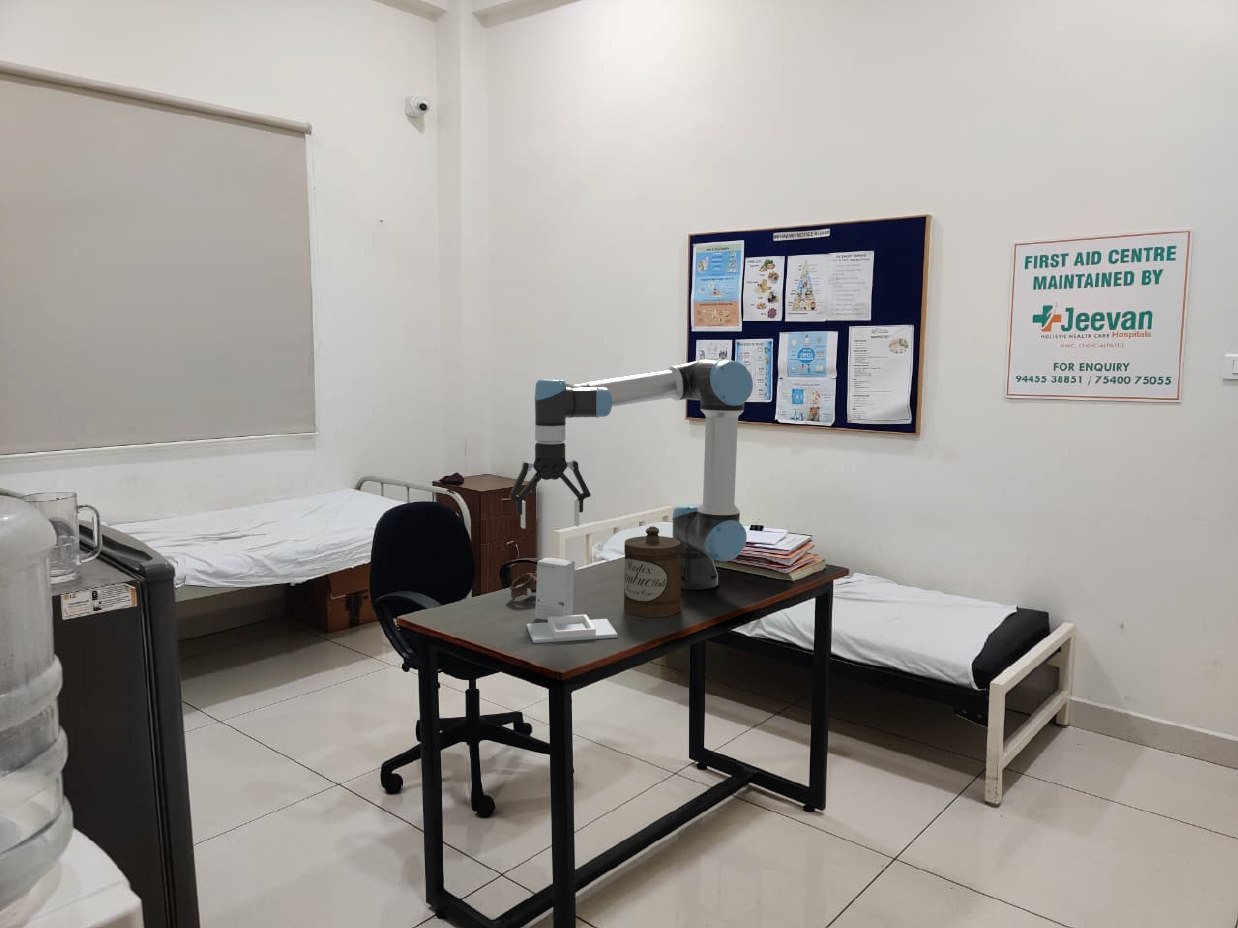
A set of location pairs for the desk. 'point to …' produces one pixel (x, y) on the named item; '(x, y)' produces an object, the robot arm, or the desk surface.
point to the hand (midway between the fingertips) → (550, 526)
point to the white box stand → (570, 629)
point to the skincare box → (554, 588)
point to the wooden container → (652, 575)
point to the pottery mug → (524, 585)
